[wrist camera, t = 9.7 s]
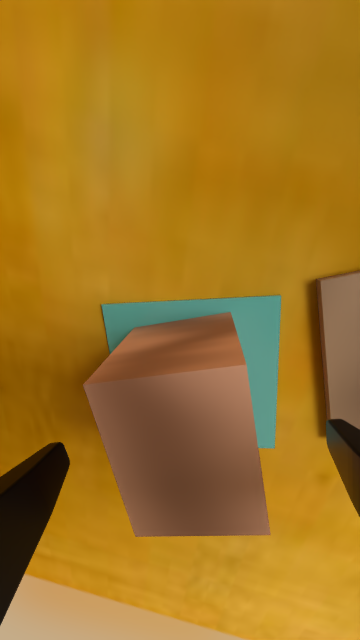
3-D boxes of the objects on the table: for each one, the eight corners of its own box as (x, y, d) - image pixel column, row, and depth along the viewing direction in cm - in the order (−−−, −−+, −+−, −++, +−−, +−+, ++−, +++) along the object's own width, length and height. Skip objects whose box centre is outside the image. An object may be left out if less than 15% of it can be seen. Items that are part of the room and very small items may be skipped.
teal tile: (275, 291, 11) (281, 295, 10) (270, 434, 14) (274, 448, 13) (109, 299, 12) (101, 304, 12) (130, 431, 15) (125, 444, 14)
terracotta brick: (230, 311, 11) (246, 364, 6) (247, 424, 13) (270, 535, 8) (134, 327, 12) (82, 384, 7) (162, 432, 13) (135, 536, 9)
